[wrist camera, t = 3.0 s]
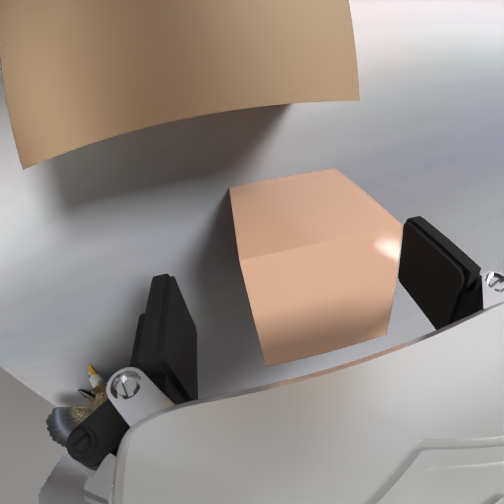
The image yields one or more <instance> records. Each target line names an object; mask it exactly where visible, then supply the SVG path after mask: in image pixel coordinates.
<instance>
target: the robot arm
mask: <svg viewBox="0 0 504 504" xmlns="http://www.w3.org/2000/svg"><path fill="white" fill-rule="evenodd" d="M480 270H481V268H480V267H479V266H478V265H477V264H476V263H475V262H474V261H473V260H472V259H470V258H469V257H468V256H467V255H466V254H465V253H464V252H463V251H462V250H461V249H459V248H458V247H457V246H456V245H455V244H454V243H453V242H451V241H450V240H449V239H448V238H447V237H446V236H444V235H443V234H442V233H441V232H440V231H438V230H437V229H436V228H435V227H433V226H432V225H431V224H430V223H429V222H427V221H426V220H425V219H424V218H422V217H421V216H417V217H413V218H409V219H407V221H406V223H405V224H404V227H403V239H402V248H401V257H400V265H399V273H398V278H399V281H400V283H401V284H402V285H403V287H404V288H405V289H406V291H407V292H408V293H409V294H410V296H411V297H412V298H413V299H414V301H415V302H416V303H417V305H418V306H419V307H420V309H421V310H422V311H423V313H424V314H425V315H426V317H427V318H428V319H429V321H430V322H431V323H432V325H433V326H434V327H435V329H436V331H434V332H431V333H429V334H426V335H424V336H422V337H419V338H417V339H414V340H412V341H409V342H407V343H404V344H401V345H399V346H396V347H393V348H391V349H388V350H385V351H382V352H380V353H377V354H374V355H371V356H368V357H365V358H362V359H359V360H356V361H353V362H350V363H347V364H344V365H340V366H337V367H334V368H330V369H327V370H323V371H320V372H316V373H313V374H309V375H306V376H302V377H298V378H294V379H290V380H286V381H282V382H278V383H274V384H269V385H265V386H260V387H256V388H251V389H247V390H242V391H237V392H232V393H227V394H222V395H217V396H212V397H207V398H202V399H198V382H197V332H196V327H195V325H194V322H193V320H192V318H191V315H190V313H189V311H188V308H187V306H186V304H185V301H184V299H183V297H182V294H181V292H180V289H179V287H178V284H177V282H176V279H175V277H174V276H172V277H170V276H169V275H168V274H163V275H159V276H154V277H153V279H152V284H151V288H150V293H149V298H148V303H147V308H146V313H143V314H141V315H140V317H139V321H138V326H137V331H136V336H135V342H134V347H133V353H132V358H131V364H130V367H126V368H123V369H121V370H119V371H117V372H116V373H115V374H114V375H113V376H112V377H111V378H110V379H109V381H108V383H107V387H106V392H107V395H108V399H107V400H106V401H105V402H104V403H103V404H101V405H100V406H99V407H98V408H97V409H96V410H95V411H94V412H92V413H91V414H90V415H89V416H88V417H87V418H86V419H84V420H83V421H82V422H81V423H80V424H79V425H78V426H77V427H75V428H74V429H73V430H72V432H71V433H70V434H69V436H68V439H67V451H68V454H67V455H66V457H65V456H63V455H62V456H61V458H60V460H59V461H58V463H57V464H56V466H55V467H54V469H53V471H52V472H51V474H50V475H49V477H48V479H47V480H46V482H45V483H44V485H43V487H42V488H41V490H40V493H39V503H40V504H108V499H109V496H110V494H111V492H112V504H504V274H503V273H501V272H498V271H493V270H490V271H487V272H485V273H484V274H483V275H482V276H481V275H480V274H479V273H480ZM112 484H113V488H112V487H111V486H112ZM112 490H113V491H112Z"/></svg>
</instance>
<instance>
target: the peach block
mask: <svg viewBox="0 0 504 504" xmlns="http://www.w3.org/2000/svg"><path fill="white" fill-rule="evenodd" d="M229 190H230V197H231V205H232V212H233V219H234V226H235V233H236V240H237V247H238V254H239V261H240V265H241V269H242V273H243V277H244V281H245V285H246V289H247V293H248V297H249V301H250V305H251V309H252V313H253V317H254V321H255V325H256V329H257V333H258V337H259V341H260V345H261V349H262V353H263V357H264V361H265V365H266V366H271V365H276V364H280V363H285V362H289V361H294V360H298V359H302V358H306V357H310V356H314V355H318V354H322V353H326V352H330V351H333V350H337V349H341V348H344V347H348V346H351V345H355V344H358V343H361V342H365V341H368V340H371V339H374V338H377V337H381V336H384V335H387V330H388V325H389V320H390V314H391V309H392V303H393V297H394V291H395V285H396V278H397V270H398V263H399V254H400V245H401V235H402V224H400V223H399V222H398V221H397V220H396V219H395V218H394V217H393V216H392V215H391V214H389V213H388V212H387V211H386V210H385V209H384V208H383V207H382V206H380V205H379V204H378V203H377V202H376V201H375V200H373V199H372V198H371V197H370V196H369V195H368V194H366V193H365V192H364V191H363V190H362V189H360V188H359V187H358V186H357V185H356V184H354V183H353V182H352V181H351V180H349V179H348V178H347V177H346V176H345V175H343V174H342V173H341V172H339V171H338V170H337V169H336V168H332V169H326V170H320V171H314V172H308V173H302V174H296V175H291V176H285V177H280V178H275V179H270V180H264V181H259V182H255V183H250V184H245V185H240V186H235V187H231V188H229Z"/></svg>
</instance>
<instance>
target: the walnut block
mask: <svg viewBox="0 0 504 504" xmlns="http://www.w3.org/2000/svg"><path fill="white" fill-rule="evenodd" d="M0 57H1V67H2V76H3V83H4V90H5V96H6V102H7V107H8V112H9V117H10V122H11V126H12V131H13V135H14V139H15V143H16V147H17V151H18V154H19V158H20V161H21V165H22V168H23V170H24V169H26V168H28V167H31V166H33V165H35V164H38V163H40V162H43V161H45V160H48V159H50V158H53V157H55V156H58V155H61V154H63V153H66V152H69V151H72V150H74V149H77V148H80V147H83V146H86V145H89V144H92V143H95V142H98V141H101V140H104V139H108V138H111V137H114V136H118V135H121V134H125V133H128V132H132V131H136V130H139V129H143V128H147V127H151V126H155V125H159V124H164V123H168V122H172V121H177V120H182V119H187V118H191V117H197V116H202V115H207V114H213V113H219V112H225V111H232V110H238V109H246V108H253V107H261V106H270V105H280V104H292V103H305V102H323V101H360V97H359V82H358V70H357V60H356V50H355V42H354V34H353V26H352V19H351V13H350V6H349V0H0Z"/></svg>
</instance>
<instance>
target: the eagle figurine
mask: <svg viewBox="0 0 504 504" xmlns="http://www.w3.org/2000/svg"><path fill="white" fill-rule="evenodd" d="M88 370H89V373H88V379H89V380H90V383H91V385H92V387H93V389H92V390H91V393H92V394H96V397H94V396H90V395H88V394H86V393H84V392H82V391H80V390H78V392H80V393H81V394H82V395H84V397H85V398H89V400H91V402H92V403H91V404H90V405H87V406H78V405H76V406H73V407H70V408H69V407H58V408H54V409H53V411H52V414H50V415H49V417H48V419H47V420H46V423H47V425H48V427H47V429H48V431H49V432H50V436H51V437H52V440H54V441H56V442H57V443H58V444H61V446H65V447H66V448H67V439H68V436H69V434H70V433H71V432H72V430H73V429H74V428H75V427H77V426H78V425H79V424H80V423H81V422H82V421H83V420H84V419H86V418H87V417H88V416H89V415H90V414H91V413H92V412H94V411H95V410H96V409H97V408H98V407H99V406H100V405H101V404H103V403H104V402H105V401H106V400H107V399H108V395H107V392H106V387H107V382H106V381H104V380H103V379H102V378H101V377H100V375H99V374H97V373H96V372H95V371H94V370H93V368H92V366H91V365H90V364H89V365H88Z"/></svg>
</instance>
